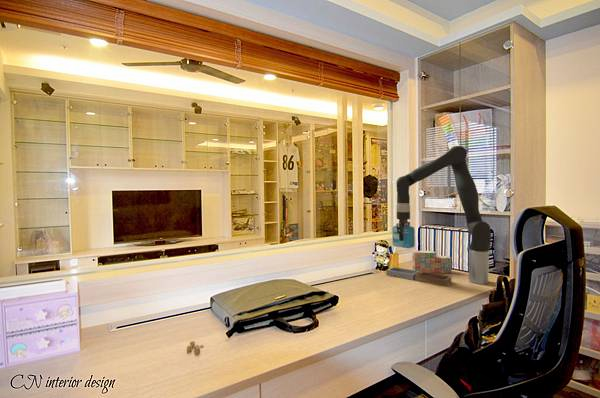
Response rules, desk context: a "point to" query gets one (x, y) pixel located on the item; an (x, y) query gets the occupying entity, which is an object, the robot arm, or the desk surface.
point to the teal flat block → (404, 237)
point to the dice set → (196, 347)
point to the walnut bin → (433, 278)
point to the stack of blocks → (431, 262)
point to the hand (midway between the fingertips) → (403, 240)
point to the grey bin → (402, 273)
